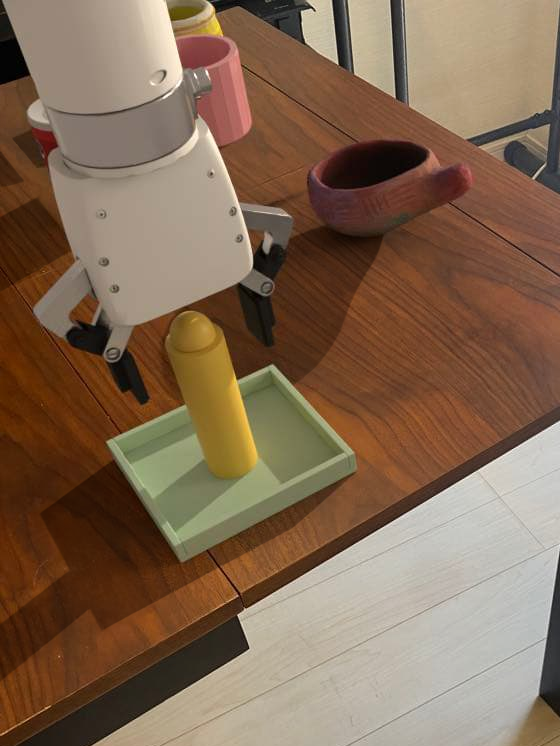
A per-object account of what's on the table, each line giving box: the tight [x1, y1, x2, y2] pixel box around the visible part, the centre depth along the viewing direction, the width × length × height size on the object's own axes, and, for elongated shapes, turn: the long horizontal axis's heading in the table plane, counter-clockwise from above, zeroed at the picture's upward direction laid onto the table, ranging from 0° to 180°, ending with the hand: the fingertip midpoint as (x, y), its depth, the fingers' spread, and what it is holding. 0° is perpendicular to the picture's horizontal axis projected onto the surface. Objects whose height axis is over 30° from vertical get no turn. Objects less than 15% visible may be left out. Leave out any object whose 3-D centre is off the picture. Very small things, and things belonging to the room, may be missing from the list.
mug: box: [165, 0, 224, 38], centre depth 108 cm, size 13×11×12 cm
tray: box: [105, 363, 358, 564], centre depth 66 cm, size 15×13×2 cm
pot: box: [175, 34, 253, 148], centre depth 98 cm, size 11×11×9 cm
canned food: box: [25, 98, 59, 174], centre depth 88 cm, size 8×8×11 cm
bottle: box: [164, 310, 258, 479], centre depth 61 cm, size 4×4×14 cm
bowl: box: [306, 138, 474, 238], centre depth 84 cm, size 16×13×8 cm
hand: (200, 364), depth 59 cm, fingers open, 9 cm apart
